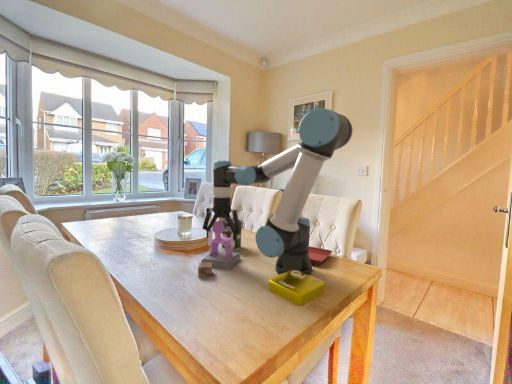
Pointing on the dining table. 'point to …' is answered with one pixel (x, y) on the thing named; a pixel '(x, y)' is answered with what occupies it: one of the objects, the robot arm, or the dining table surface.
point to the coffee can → (228, 232)
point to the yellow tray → (297, 287)
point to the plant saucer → (318, 255)
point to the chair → (220, 240)
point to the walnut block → (205, 269)
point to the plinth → (221, 260)
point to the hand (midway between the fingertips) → (221, 246)
